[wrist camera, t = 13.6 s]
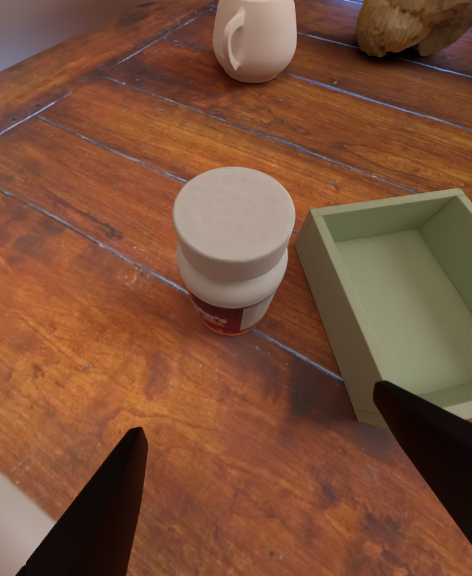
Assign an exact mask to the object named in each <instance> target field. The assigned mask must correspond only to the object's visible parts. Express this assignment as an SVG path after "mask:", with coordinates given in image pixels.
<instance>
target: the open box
mask: <svg viewBox="0 0 472 576" xmlns="http://www.w3.org/2000/svg"><path fill="white" fill-rule="evenodd" d="M294 245H295V248H296V251H297V253H298V256H299V259H300V262H301V265H302V267H303V270H304V273H305V276H306V278H307V281H308V284H309V287H310V289H311V292H312V295H313V298H314V301H315V303H316V306H317V309H318V312H319V314H320V317H321V320H322V323H323V325H324V328H325V331H326V334H327V337H328V339H329V342H330V345H331V348H332V350H333V353H334V356H335V359H336V361H337V364H338V367H339V370H340V373H341V375H342V378H343V381H344V384H345V386H346V389H347V392H348V395H349V397H350V400H351V403H352V406H353V409H354V411H355V414H356V417H357V420H358V422H362V423H366V424H369V425H373V426H376V427H380V428H383V429H387V430H390V429H389V427H388V425H387V424H386V422H385V420H384V419H383V417H382V415H381V414H380V412H379V410H378V409H377V407H376V405H375V404H374V402H373V390H374V384H375V382H377V381H382V380H387V381H389V382H391V383H393V384H395V385H397V386H399V387H401V388H403V389H405V390H407V391H409V392H411V393H413V394H415V395H417V396H419V397H421V398H423V399H425V400H427V401H429V402H431V403H433V404H435V405H437V406H439V407H441V408H443V409H445V410H447V411H449V412H451V413H453V414H455V415H457V416H459V417H461V418H463V419H465V420H467V419H471V418H472V202H471V201H470V200H469V199H468V198H467V196H466V195H464V193H463V191H462V190H461V189H460V188H456V189H449V190H442V191H435V192H428V193H421V194H414V195H407V196H400V197H393V198H386V199H379V200H372V201H365V202H358V203H351V204H344V205H337V206H330V207H323V208H316V209H310V210H309V212H308V214H307V217H306V219H305V221H304V223H303V226H302V228H301V230H300V232H299V235H298V237H297V239H296V242H295V243H294ZM390 431H391V430H390Z"/></svg>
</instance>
